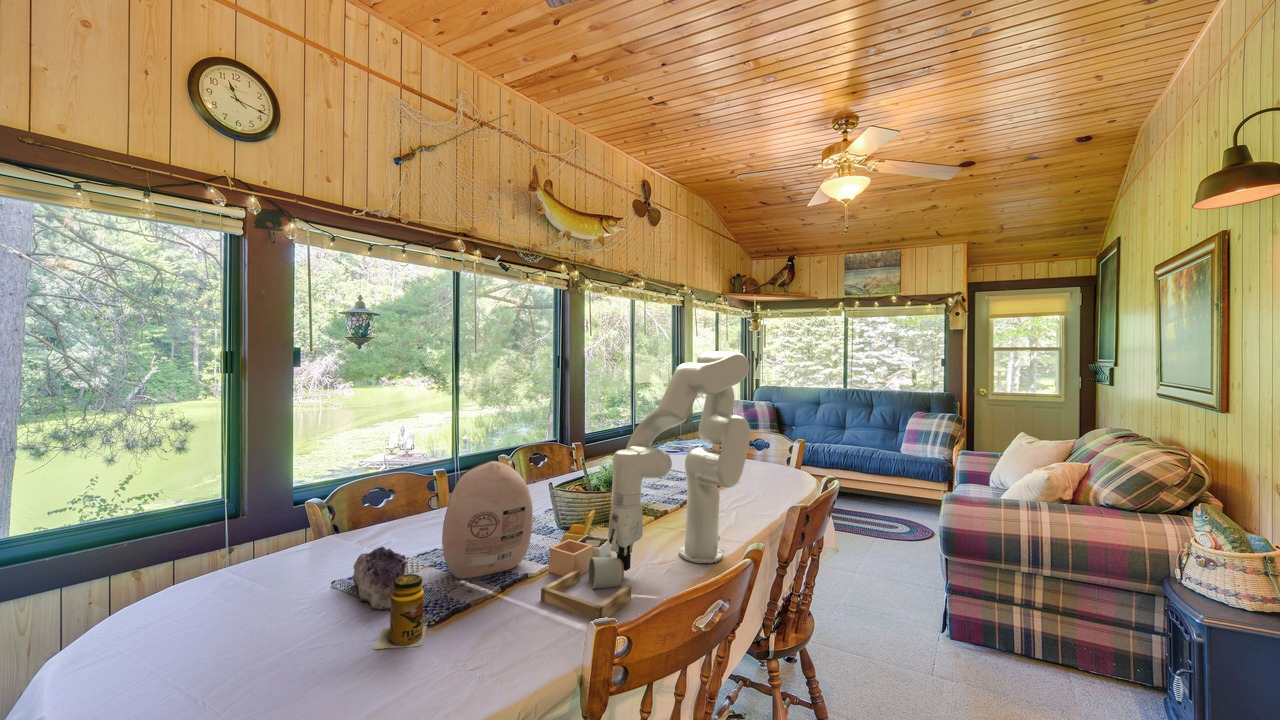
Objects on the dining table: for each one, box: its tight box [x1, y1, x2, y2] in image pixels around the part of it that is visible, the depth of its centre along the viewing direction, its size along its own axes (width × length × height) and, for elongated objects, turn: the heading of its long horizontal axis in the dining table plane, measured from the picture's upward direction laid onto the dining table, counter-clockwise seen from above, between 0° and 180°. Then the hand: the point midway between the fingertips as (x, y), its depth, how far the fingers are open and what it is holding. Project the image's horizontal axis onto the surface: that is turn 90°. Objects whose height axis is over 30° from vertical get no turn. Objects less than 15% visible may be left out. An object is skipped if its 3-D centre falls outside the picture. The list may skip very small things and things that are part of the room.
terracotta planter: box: [548, 539, 593, 577], centre depth 140 cm, size 8×8×7 cm
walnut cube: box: [585, 540, 601, 548], centre depth 150 cm, size 4×4×4 cm
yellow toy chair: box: [559, 509, 596, 544], centre depth 164 cm, size 10×10×9 cm
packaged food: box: [441, 460, 534, 580], centre depth 137 cm, size 22×20×30 cm
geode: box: [352, 546, 407, 612], centre depth 125 cm, size 20×12×10 cm, turn 36°
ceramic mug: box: [587, 556, 625, 590], centre depth 134 cm, size 10×8×7 cm
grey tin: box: [577, 534, 612, 558], centre depth 150 cm, size 8×8×5 cm
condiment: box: [373, 573, 428, 650], centre depth 106 cm, size 7×8×12 cm
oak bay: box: [540, 570, 633, 620], centre depth 124 cm, size 13×16×4 cm
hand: (623, 568), depth 138 cm, fingers closed
